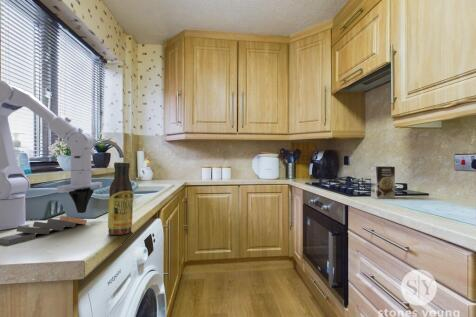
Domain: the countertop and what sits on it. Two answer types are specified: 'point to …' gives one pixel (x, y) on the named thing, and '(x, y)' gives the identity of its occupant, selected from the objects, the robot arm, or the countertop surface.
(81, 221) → the domino
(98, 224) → the countertop surface
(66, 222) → the domino
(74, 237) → the countertop surface
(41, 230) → the domino
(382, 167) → the coffee box
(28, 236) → the domino
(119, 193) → the sauce bottle
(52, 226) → the domino
